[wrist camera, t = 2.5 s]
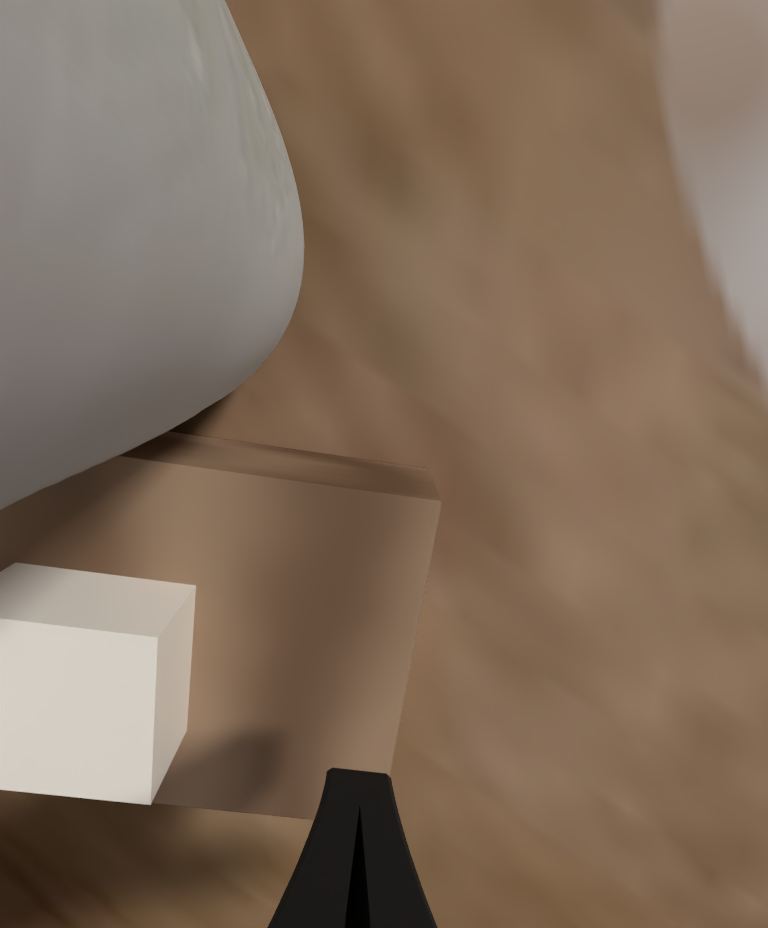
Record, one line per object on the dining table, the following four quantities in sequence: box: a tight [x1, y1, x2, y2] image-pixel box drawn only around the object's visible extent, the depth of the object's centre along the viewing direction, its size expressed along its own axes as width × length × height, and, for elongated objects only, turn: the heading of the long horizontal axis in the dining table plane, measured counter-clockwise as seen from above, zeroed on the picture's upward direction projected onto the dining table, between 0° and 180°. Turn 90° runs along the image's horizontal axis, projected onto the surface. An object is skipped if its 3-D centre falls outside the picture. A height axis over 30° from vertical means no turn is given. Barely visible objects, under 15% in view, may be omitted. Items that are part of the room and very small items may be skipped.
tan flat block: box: [0, 431, 442, 820], centre depth 16 cm, size 20×12×4 cm, turn 81°
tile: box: [0, 562, 196, 805], centre depth 13 cm, size 5×5×2 cm
